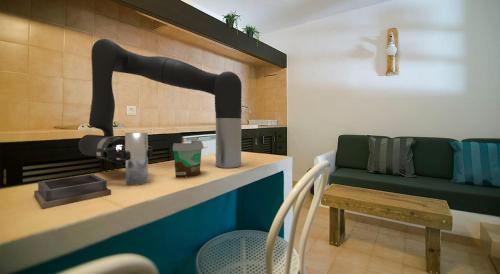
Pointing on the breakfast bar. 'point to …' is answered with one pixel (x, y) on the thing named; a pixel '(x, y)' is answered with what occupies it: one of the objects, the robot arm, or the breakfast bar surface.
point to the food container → (187, 158)
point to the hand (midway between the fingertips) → (139, 154)
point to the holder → (70, 190)
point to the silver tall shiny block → (136, 158)
